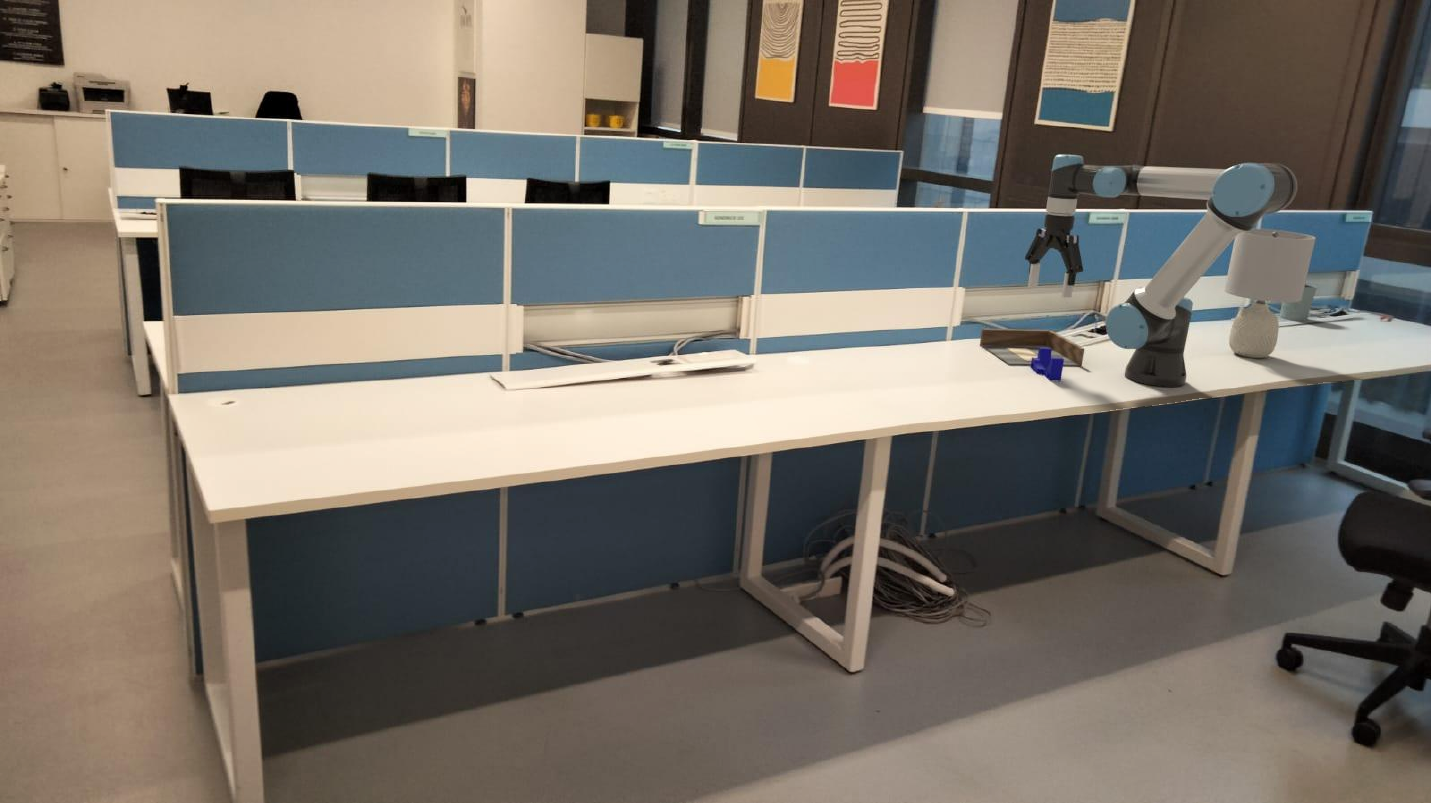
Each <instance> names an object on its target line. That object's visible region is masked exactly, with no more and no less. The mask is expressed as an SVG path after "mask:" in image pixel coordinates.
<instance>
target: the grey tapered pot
mask: <svg viewBox="0 0 1431 803" xmlns="http://www.w3.org/2000/svg"><path fill="white" fill-rule="evenodd" d="M1317 288H1318V287H1317V285H1313V284H1309V283H1305V286H1304V291H1303V295H1302V300H1301V301H1299V302H1281V308H1280V314H1279V317H1280V318H1281V319H1283V320H1288V321H1295V322H1307V320H1308V319H1309V315H1310V310H1311V308H1312V305H1313V301H1314V297H1315V294H1316V292H1317Z"/></svg>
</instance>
